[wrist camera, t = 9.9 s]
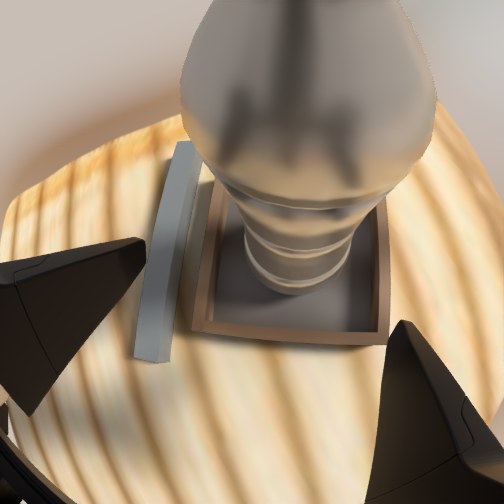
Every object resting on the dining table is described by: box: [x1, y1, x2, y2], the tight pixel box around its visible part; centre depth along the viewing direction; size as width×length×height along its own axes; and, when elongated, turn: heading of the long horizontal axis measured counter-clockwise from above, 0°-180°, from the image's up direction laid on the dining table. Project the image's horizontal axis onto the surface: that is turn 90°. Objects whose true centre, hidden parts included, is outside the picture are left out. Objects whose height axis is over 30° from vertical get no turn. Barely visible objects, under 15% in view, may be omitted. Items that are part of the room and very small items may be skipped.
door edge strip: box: [134, 141, 203, 363], centre depth 21 cm, size 18×2×2 cm, turn 174°
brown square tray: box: [191, 177, 391, 345], centre depth 19 cm, size 13×13×2 cm
